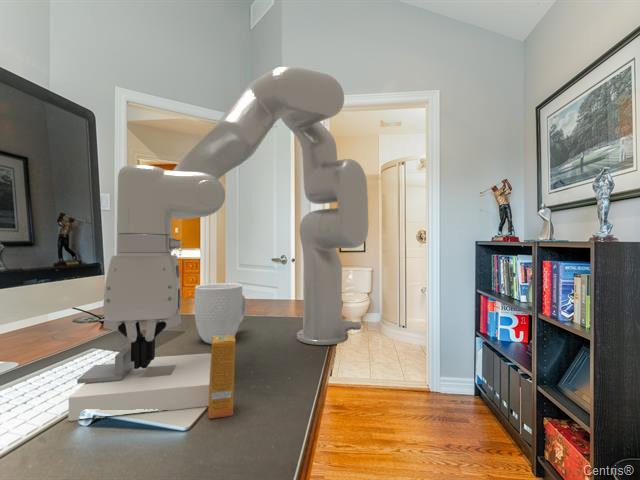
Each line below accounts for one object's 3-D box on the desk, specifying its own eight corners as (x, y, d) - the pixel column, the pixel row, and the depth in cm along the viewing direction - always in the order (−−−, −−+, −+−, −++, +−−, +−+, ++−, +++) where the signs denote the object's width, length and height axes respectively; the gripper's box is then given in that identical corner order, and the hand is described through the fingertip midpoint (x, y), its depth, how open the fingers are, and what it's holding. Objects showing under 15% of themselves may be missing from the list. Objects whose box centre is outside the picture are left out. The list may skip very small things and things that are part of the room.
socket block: (221, 368, 59) (221, 352, 59) (215, 405, 46) (215, 384, 46) (111, 377, 55) (111, 360, 55) (68, 421, 41) (68, 397, 41)
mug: (228, 328, 88) (228, 280, 89) (261, 333, 83) (261, 282, 84) (183, 343, 75) (184, 286, 75) (219, 350, 70) (219, 289, 70)
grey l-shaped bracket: (134, 365, 52) (134, 344, 52) (121, 379, 47) (122, 356, 47) (94, 368, 51) (95, 347, 51) (77, 383, 45) (77, 359, 45)
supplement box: (235, 415, 43) (236, 340, 43) (208, 420, 42) (209, 342, 42) (234, 404, 46) (234, 333, 46) (208, 407, 45) (209, 335, 45)
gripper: (198, 246, 56) (197, 354, 55) (100, 246, 52) (98, 361, 52) (192, 247, 48) (190, 370, 48) (78, 246, 45) (75, 379, 44)
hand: (142, 365), depth 50 cm, fingers closed
